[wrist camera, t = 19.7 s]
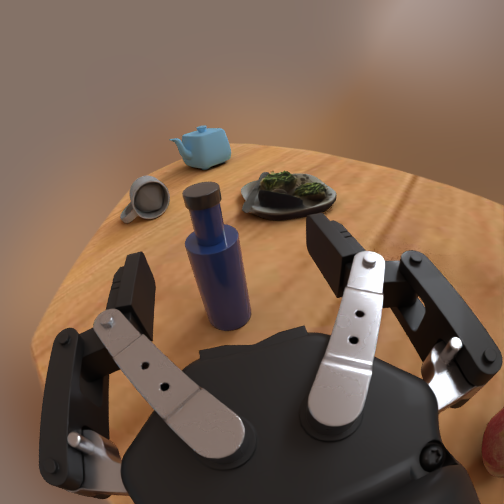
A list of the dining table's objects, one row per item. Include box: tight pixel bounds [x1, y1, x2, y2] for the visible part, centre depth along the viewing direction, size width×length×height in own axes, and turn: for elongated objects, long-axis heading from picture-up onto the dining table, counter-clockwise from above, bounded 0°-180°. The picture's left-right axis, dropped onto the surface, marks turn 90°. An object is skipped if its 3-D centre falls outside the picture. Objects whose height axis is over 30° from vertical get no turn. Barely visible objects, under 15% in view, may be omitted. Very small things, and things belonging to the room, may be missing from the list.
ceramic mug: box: [120, 176, 170, 223], centre depth 51 cm, size 11×8×8 cm
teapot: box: [170, 126, 231, 170], centre depth 72 cm, size 12×18×12 cm
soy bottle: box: [183, 182, 251, 331], centre depth 26 cm, size 5×5×15 cm
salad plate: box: [241, 171, 336, 220], centre depth 51 cm, size 19×18×5 cm
